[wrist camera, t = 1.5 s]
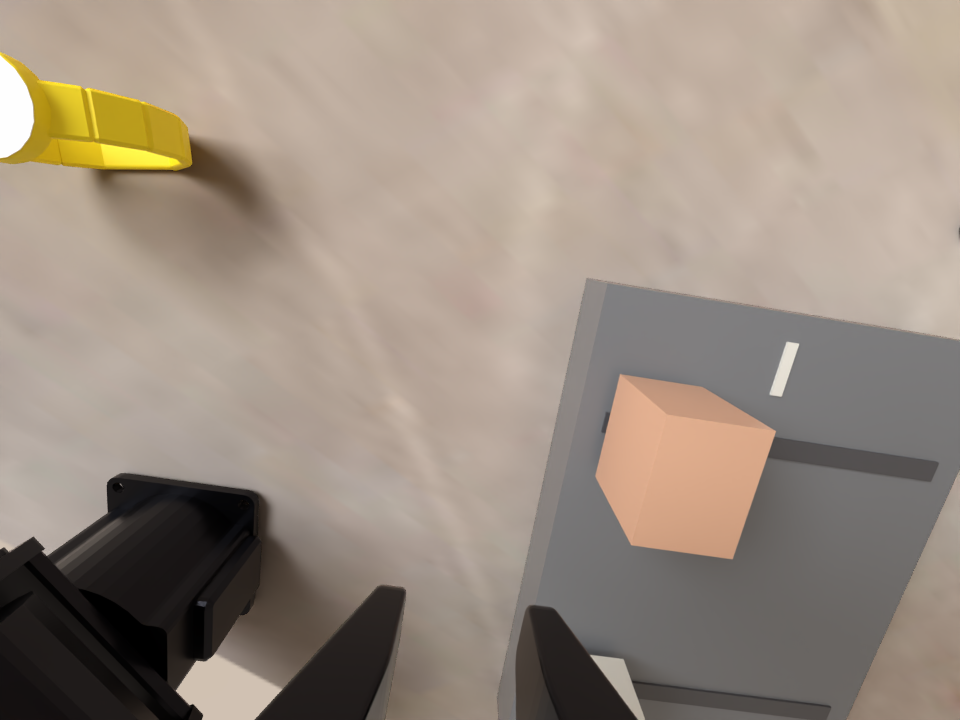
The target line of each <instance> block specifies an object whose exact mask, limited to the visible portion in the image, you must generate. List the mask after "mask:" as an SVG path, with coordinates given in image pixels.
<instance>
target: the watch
mask: <svg viewBox="0 0 960 720" xmlns="http://www.w3.org/2000/svg"><path fill="white" fill-rule="evenodd" d="M29 161H32V162H39V163H46V164H53V165H60V164H62V165H63V166H71V167H82V168H93V169H104V170H106V169H133V170H173V171H178V170H181V169H184V168H187V167H190V166H191V165H192V156H191V149H190V142H189V134H188V127H187V126H186V125H185V124H184V123H183V121H182V120H181V119H180V118H179V117H178V116H177V115H175V114H174V113H171V112H169V111H166V110H164V109H161V108H159V107H156V106H154V105H151V104H149V103H146V102H140V101H139V100H136V99H132V98H128V97H124V96H120V95H116V94H112V93H108V92H104V91H100V90H95V89H91V88H87V89H85V90H84V89H83V88H82V87H81V86H75V85H69V84H62V83H55V82H48V81H42V80H39V79H38V77H37V76H36V75H35V74H34V73H33V72H32V71H30V70H29V69H28V68H27V67H26V66H25V65H24V64H22V63H21V62H19V61H18V60H16V59H14V58H12V57H10V56H8V55H6V54H4V53H1V52H0V162H2V163H8V164H17V163H24V162H29Z"/></svg>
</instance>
